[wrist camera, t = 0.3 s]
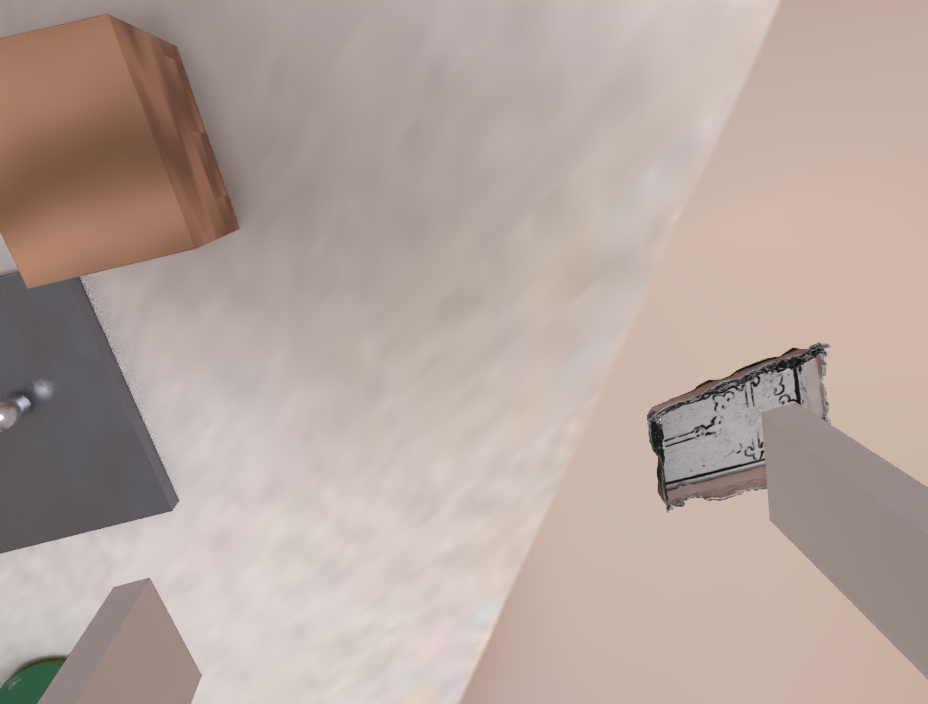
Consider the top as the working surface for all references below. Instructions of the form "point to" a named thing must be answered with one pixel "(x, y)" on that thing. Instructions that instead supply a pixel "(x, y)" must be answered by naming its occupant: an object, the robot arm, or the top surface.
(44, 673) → the beverage can
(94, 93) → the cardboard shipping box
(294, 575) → the top surface
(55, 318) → the boss plate
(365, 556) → the top surface
